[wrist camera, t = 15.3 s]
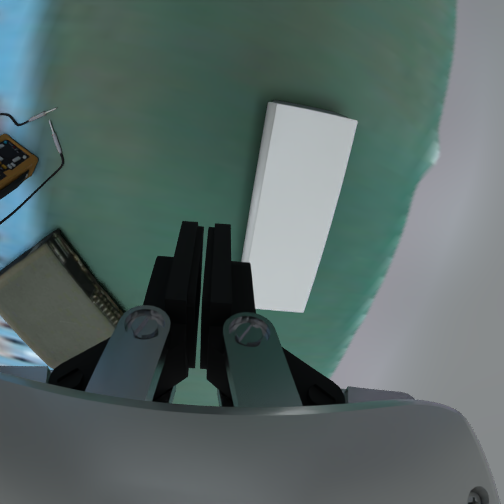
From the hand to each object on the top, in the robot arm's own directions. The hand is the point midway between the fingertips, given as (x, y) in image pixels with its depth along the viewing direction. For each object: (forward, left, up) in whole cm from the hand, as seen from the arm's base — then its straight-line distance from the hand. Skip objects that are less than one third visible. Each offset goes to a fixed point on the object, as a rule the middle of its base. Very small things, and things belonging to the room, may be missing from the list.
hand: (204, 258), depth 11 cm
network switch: (+29, -24, -27) cm, 46 cm away
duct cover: (+8, +8, -21) cm, 24 cm away
